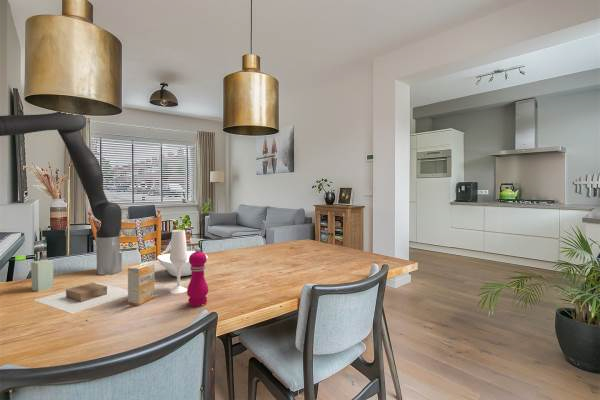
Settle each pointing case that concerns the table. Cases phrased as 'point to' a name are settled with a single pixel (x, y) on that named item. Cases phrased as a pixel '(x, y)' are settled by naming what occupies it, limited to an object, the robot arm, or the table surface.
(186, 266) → the bowl
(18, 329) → the table surface
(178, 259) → the champagne flute
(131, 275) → the supplement box
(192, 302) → the pepper mill
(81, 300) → the walnut plinth
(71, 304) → the grey board
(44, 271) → the sage block
